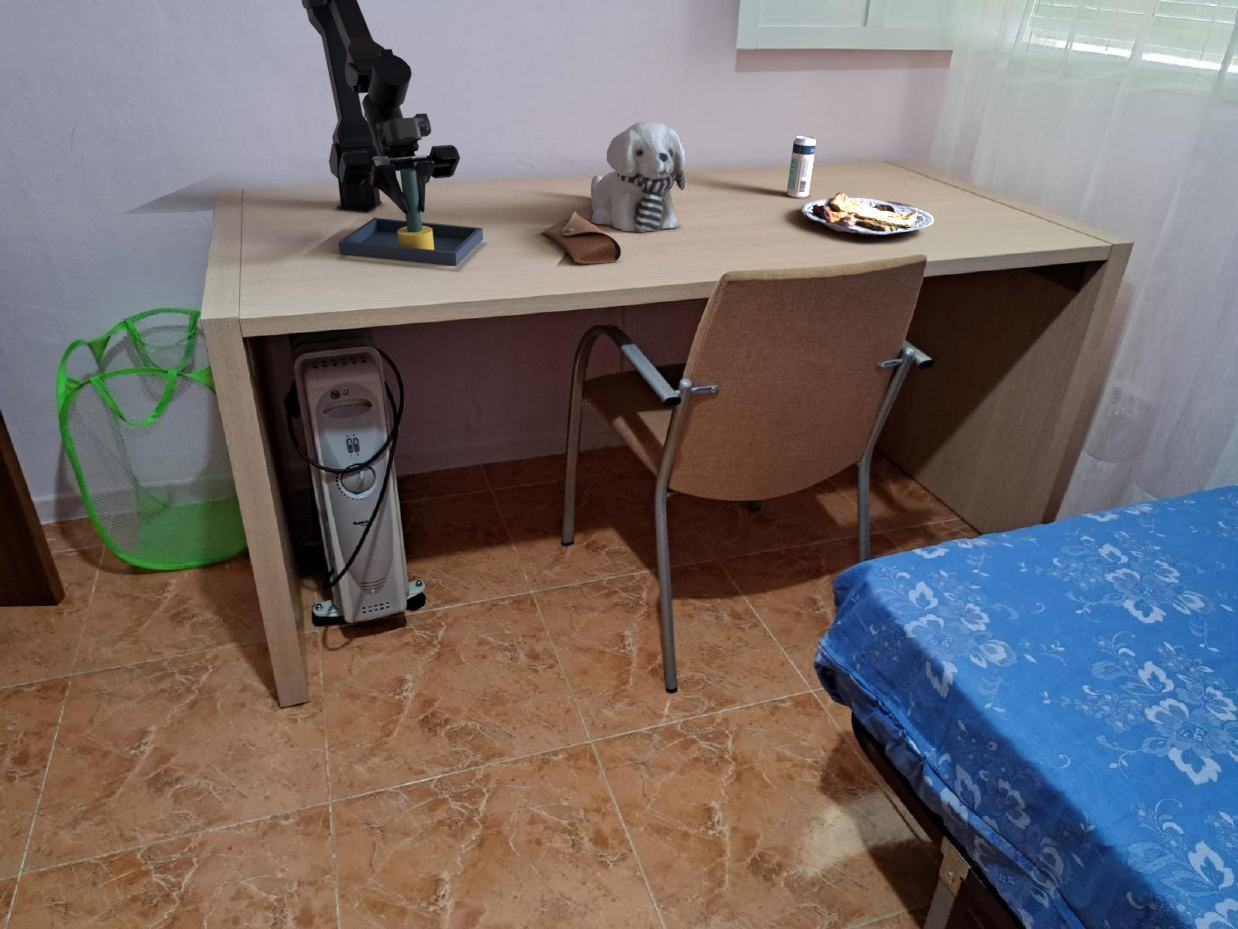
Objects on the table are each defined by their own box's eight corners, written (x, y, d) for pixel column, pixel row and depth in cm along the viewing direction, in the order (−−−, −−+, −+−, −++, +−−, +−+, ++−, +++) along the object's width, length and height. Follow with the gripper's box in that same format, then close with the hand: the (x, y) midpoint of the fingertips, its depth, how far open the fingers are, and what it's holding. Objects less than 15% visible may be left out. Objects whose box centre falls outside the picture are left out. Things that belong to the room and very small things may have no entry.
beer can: (811, 195, 196) (820, 137, 189) (803, 199, 192) (811, 141, 186) (791, 191, 198) (799, 134, 192) (782, 195, 194) (790, 137, 188)
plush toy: (653, 239, 163) (660, 133, 154) (543, 213, 174) (543, 113, 165) (700, 218, 176) (709, 119, 167) (594, 195, 187) (597, 101, 178)
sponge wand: (393, 255, 147) (383, 173, 140) (408, 245, 151) (399, 165, 145) (425, 257, 146) (416, 175, 139) (439, 247, 150) (431, 167, 144)
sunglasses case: (534, 232, 162) (552, 198, 160) (565, 248, 166) (582, 215, 164) (576, 263, 148) (596, 227, 146) (608, 280, 152) (627, 245, 151)
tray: (340, 258, 146) (338, 241, 145) (375, 233, 159) (374, 217, 157) (456, 270, 144) (455, 253, 143) (483, 243, 157) (482, 227, 155)
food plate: (777, 220, 178) (780, 202, 176) (839, 201, 193) (842, 184, 191) (892, 251, 164) (896, 232, 162) (949, 227, 179) (953, 210, 177)
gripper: (334, 96, 135) (363, 189, 133) (453, 92, 143) (482, 179, 141) (327, 140, 145) (354, 227, 143) (438, 133, 153) (465, 216, 151)
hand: (414, 211), depth 144 cm, fingers closed on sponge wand, 2 cm apart
